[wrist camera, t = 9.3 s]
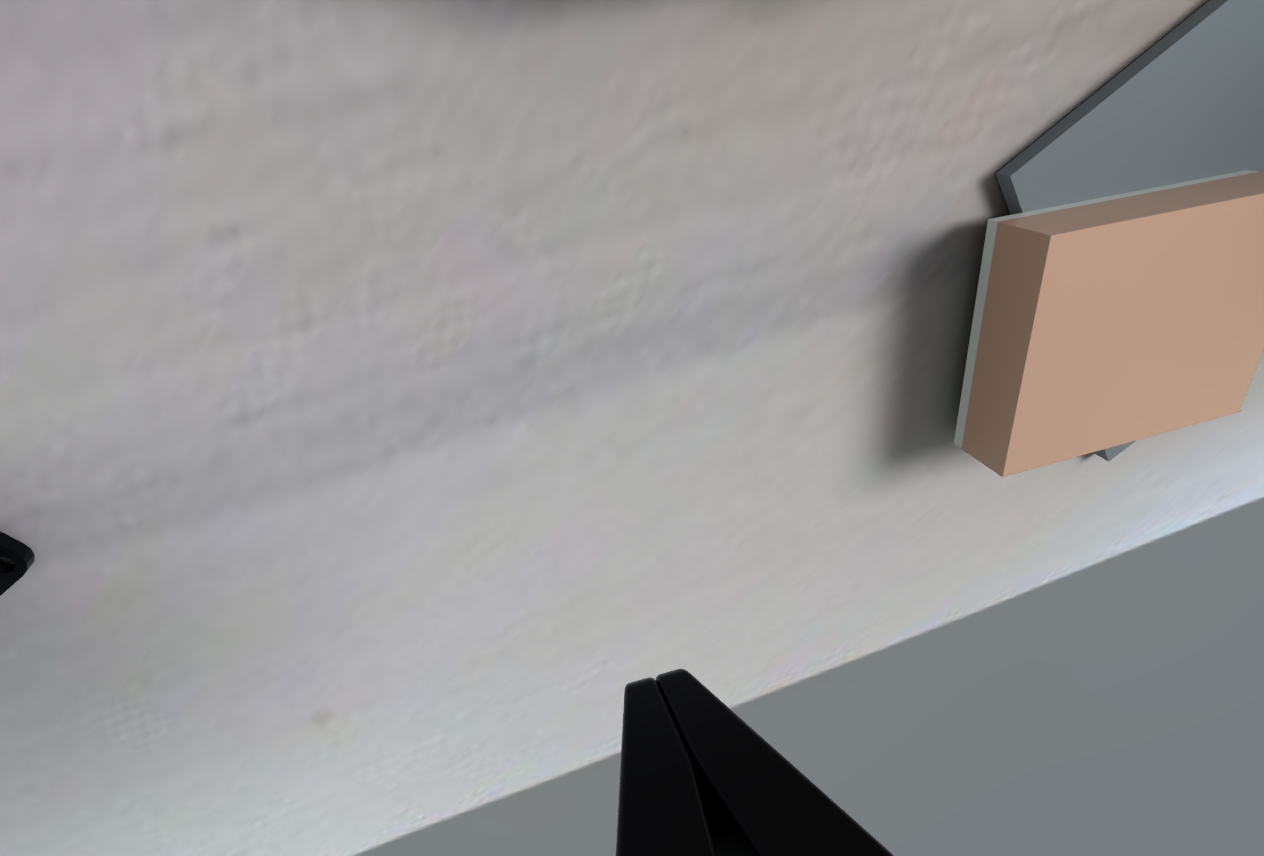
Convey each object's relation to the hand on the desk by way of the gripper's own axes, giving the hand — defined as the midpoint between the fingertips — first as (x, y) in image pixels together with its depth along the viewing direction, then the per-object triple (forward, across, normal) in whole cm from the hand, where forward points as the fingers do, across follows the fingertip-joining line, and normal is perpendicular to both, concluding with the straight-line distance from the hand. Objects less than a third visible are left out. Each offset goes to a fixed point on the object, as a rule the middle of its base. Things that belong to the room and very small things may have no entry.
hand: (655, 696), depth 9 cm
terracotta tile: (+10, -14, +2) cm, 18 cm away
